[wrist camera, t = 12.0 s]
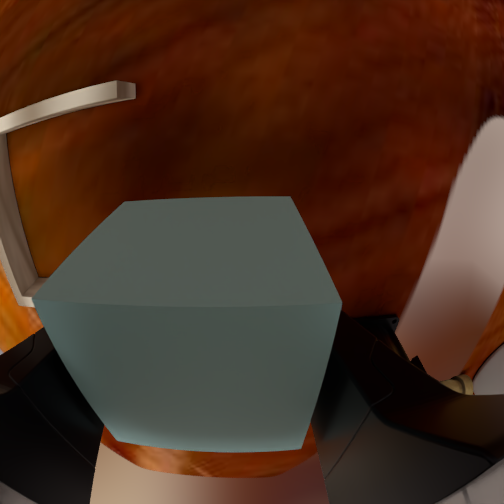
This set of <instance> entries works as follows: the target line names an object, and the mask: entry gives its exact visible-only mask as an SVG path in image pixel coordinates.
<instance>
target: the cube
mask: <svg viewBox="0 0 504 504" xmlns="http://www.w3.org/2000/svg"><path fill="white" fill-rule="evenodd" d="M32 302H33V304H34V306H35V309H36V311H37V313H38V315H39V317H40V319H41V322H42V324H43V326H44V328H45V330H46V332H47V334H48V336H49V338H50V340H51V341H52V343H53V345H54V347H55V349H56V351H57V353H58V354H59V356H60V358H61V360H62V361H63V363H64V365H65V367H66V368H67V370H68V372H69V373H70V375H71V377H72V378H73V380H74V381H75V383H76V385H77V386H78V388H79V389H80V391H81V392H82V394H83V395H84V397H85V398H86V400H87V401H88V403H89V404H90V405H91V407H92V408H93V410H94V411H95V413H96V414H97V415H98V417H99V418H100V419H101V421H102V422H103V423H104V425H105V426H106V427H107V428H108V430H109V431H110V432H111V434H112V435H113V436H114V437H115V439H116V440H117V441H121V442H127V443H132V444H138V445H145V446H152V447H159V448H168V449H178V450H190V451H206V452H265V451H282V450H294V449H301V447H302V444H303V441H304V438H305V435H306V433H307V430H308V427H309V424H310V421H311V418H312V415H313V411H314V408H315V405H316V402H317V399H318V395H319V392H320V389H321V385H322V382H323V378H324V375H325V371H326V368H327V364H328V360H329V356H330V353H331V349H332V345H333V341H334V337H335V333H336V328H337V324H338V320H339V315H340V311H341V306H342V301H341V299H340V297H339V294H338V292H337V290H336V288H335V286H334V284H333V281H332V279H331V277H330V275H329V273H328V271H327V269H326V267H325V264H324V262H323V260H322V258H321V256H320V254H319V252H318V250H317V248H316V246H315V244H314V242H313V240H312V238H311V236H310V234H309V232H308V230H307V228H306V226H305V224H304V222H303V220H302V218H301V216H300V214H299V212H298V210H297V208H296V206H295V204H294V202H293V200H292V199H291V197H288V196H257V197H206V198H180V199H159V200H142V201H128V202H124V203H122V204H121V205H120V206H119V207H118V208H117V209H116V210H115V211H114V212H113V213H112V214H110V215H109V216H108V217H107V218H106V219H105V220H104V221H103V222H102V223H101V224H100V225H99V226H98V227H97V228H96V229H95V230H94V231H93V232H92V233H91V234H90V235H89V236H88V237H87V238H86V239H85V240H84V241H83V242H82V243H81V244H80V245H79V246H78V247H77V248H76V249H75V250H74V251H73V252H72V253H71V254H70V255H69V256H68V257H67V258H66V260H65V261H64V262H63V263H62V264H61V265H60V266H59V267H58V268H57V269H56V271H55V272H54V273H53V274H52V275H51V276H50V277H49V278H48V280H47V281H46V282H45V283H44V284H43V285H42V287H41V288H40V289H39V290H38V291H37V292H36V294H35V295H34V296H33V297H32Z"/></svg>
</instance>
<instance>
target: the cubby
mask: <svg viewBox="0 0 504 504" xmlns="http://www.w3.org/2000/svg"><path fill="white" fill-rule="evenodd" d="M130 99H136V88H135V84H134V83H129V82H123V81H117V80H116V81H112V82H107V83H103V84H99V85H95V86H91V87H87V88H83V89H79V90H76V91H72V92H69V93H66V94H62V95H59V96H56V97H53V98H50V99H47V100H44V101H41V102H38V103H36V104H33V105H30V106H28V107H25V108H23V109H20V110H18V111H15V112H13V113H10V114H8V115H6V116H4V117H1V118H0V259H1V262H2V265H3V268H4V270H5V273H6V276H7V278H8V281H9V283H10V286H11V288H12V291H13V293H14V295H15V298H16V300H17V302H18V304H19V305H20V306H29V307H35V306H34V304H33V302H32V297H33V296H34V295H35V294H36V292H37V291H38V290H39V289H40V288H41V287H42V285H43V284H44V283H45V282H46V281H47V280H48V278H39V277H38V275H37V272H36V269H35V266H34V263H33V260H32V257H31V254H30V251H29V248H28V244H27V241H26V237H25V234H24V230H23V227H22V223H21V219H20V215H19V211H18V206H17V202H16V197H15V192H14V187H13V182H12V176H11V170H10V164H9V156H8V148H7V139H6V133H8V132H11V131H13V130H16V129H19V128H22V127H25V126H27V125H30V124H33V123H36V122H39V121H43V120H46V119H49V118H52V117H56V116H59V115H63V114H66V113H70V112H74V111H78V110H82V109H86V108H90V107H95V106H99V105H104V104H109V103H114V102H119V101H125V100H130Z"/></svg>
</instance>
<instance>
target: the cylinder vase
mask: <svg viewBox="0 0 504 504" xmlns="http://www.w3.org/2000/svg"><path fill="white" fill-rule="evenodd" d="M473 391H474V393H475V395H494V394H504V344H503V345H501V346H500V347H499V348H498V349H497V350H496V351H495V352H494V353H493V354H492V355H491V356H490V357H489V358H488V359H487V360H486V362H485V363H484V364H483V365H482V367H481V368H480V369H479V371H478V372H477V374H476V376H475V378H474V380H473Z"/></svg>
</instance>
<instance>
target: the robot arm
mask: <svg viewBox="0 0 504 504" xmlns="http://www.w3.org/2000/svg"><path fill="white" fill-rule="evenodd" d="M398 322H399V318H398V316H397V315H385V316H376V317H366V318H355V319H352V318H351V317H350V316H349V315H347V314H346V313H345V312H343V311H342V310H341V311H340V315H339V320H338V324H337V328H336V333H335V337H334V341H333V345H332V349H331V353H330V356H329V360H328V364H327V368H326V371H325V375H324V378H323V382H322V385H321V389H320V392H319V395H318V399H317V402H316V405H315V408H314V411H313V415H312V418H311V425H312V429H313V433H314V437H315V442H316V446H317V450H318V454H319V459H320V463H321V467H322V471H323V476H324V479H325V485H326V490H327V493H328V499H329V503H330V504H504V394H494V395H468V394H462V393H459V392H456V391H454V390H452V389H450V388H449V387H447V386H445V385H444V384H442V383H441V382H439V381H438V380H436V379H434V378H433V377H431V376H430V375H428V374H427V373H426V371H425V369H424V367H423V365H422V363H421V362H420V360H419V358H418V356H416V357H414V358H412V360H411V361H410V360H409V358H408V356H407V354H406V353H405V351H404V349H403V347H402V345H401V343H400V342H399V340H398V338H397V336H396V334H395V330H396V327H397V325H398ZM103 428H104V423H103V422H102V421H101V419H100V418H99V417H98V415H97V414H96V413H95V411H94V410H93V408H92V407H91V405H90V404H89V403H88V401H87V400H86V398H85V397H84V395H83V394H82V392H81V391H80V389H79V388H78V386H77V385H76V383H75V381H74V380H73V378H72V377H71V375H70V373H69V372H68V370H67V368H66V367H65V365H64V363H63V361H62V360H61V358H60V356H59V354H58V353H57V351H56V349H55V347H54V345H53V343H52V341H51V340H50V338H49V336H48V334H47V332H46V330H45V328H44V327H43V328H42V329H40V330H39V331H37V332H36V333H35V334H33V335H31V336H30V337H28V338H27V339H25V340H24V341H22V342H21V343H19V344H18V345H16V346H15V347H13V348H11V349H10V350H8V351H6V352H5V353H3V354H1V355H0V504H90V497H91V491H92V484H93V478H94V473H95V468H94V467H95V466H96V461H97V456H98V451H99V446H100V441H101V437H102V432H103Z"/></svg>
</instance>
